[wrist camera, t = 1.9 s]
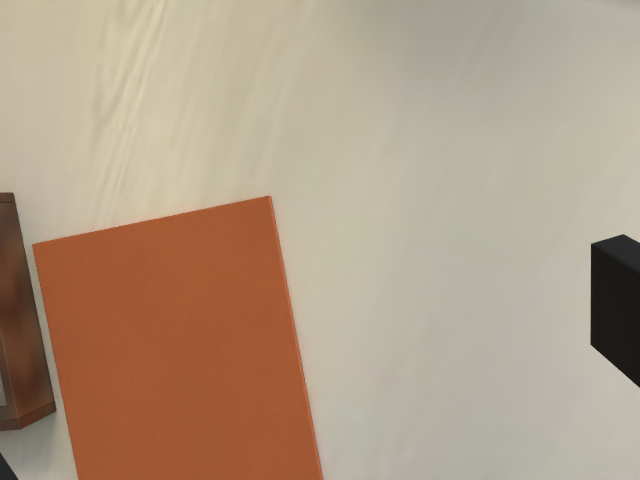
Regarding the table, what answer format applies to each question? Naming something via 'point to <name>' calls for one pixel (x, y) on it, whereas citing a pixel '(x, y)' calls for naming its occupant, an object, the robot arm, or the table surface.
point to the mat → (179, 349)
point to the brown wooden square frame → (19, 331)
